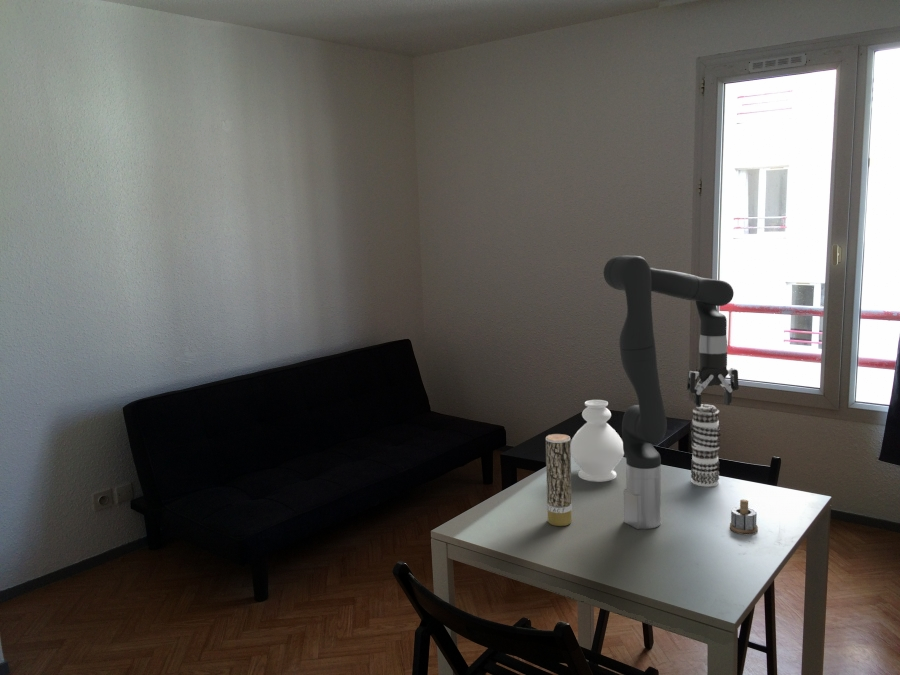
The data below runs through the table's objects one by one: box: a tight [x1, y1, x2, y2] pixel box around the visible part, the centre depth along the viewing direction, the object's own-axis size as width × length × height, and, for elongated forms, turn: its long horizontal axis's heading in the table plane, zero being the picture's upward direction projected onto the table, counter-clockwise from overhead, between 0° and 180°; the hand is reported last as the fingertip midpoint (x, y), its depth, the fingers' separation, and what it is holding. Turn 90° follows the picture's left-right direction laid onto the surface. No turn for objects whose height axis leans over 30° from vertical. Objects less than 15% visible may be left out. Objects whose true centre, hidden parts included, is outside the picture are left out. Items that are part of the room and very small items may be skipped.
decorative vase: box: [570, 399, 625, 483], centre depth 242 cm, size 18×18×25 cm
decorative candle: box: [689, 403, 722, 488], centre depth 231 cm, size 9×9×25 cm
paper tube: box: [545, 433, 573, 527], centre depth 205 cm, size 7×7×25 cm
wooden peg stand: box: [729, 499, 759, 535], centre depth 197 cm, size 7×7×8 cm
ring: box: [730, 506, 758, 530], centre depth 197 cm, size 6×6×4 cm
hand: (712, 405), depth 210 cm, fingers open, 8 cm apart
